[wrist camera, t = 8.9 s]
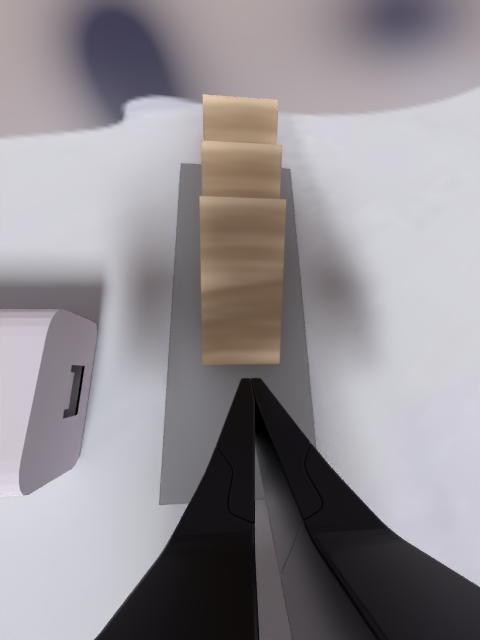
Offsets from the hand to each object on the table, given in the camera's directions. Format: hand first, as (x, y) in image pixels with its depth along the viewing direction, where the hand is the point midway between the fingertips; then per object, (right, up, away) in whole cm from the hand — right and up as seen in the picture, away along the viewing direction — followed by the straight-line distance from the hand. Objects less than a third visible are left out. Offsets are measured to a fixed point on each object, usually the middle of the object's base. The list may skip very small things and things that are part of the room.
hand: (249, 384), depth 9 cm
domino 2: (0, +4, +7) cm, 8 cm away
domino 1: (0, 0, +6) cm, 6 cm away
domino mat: (-1, +4, +8) cm, 9 cm away
